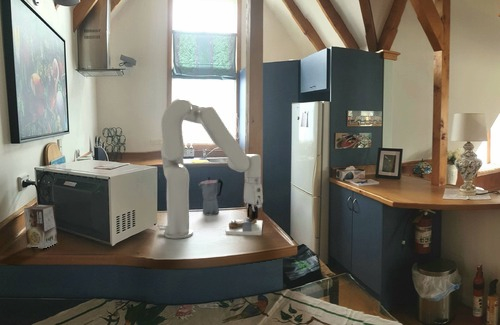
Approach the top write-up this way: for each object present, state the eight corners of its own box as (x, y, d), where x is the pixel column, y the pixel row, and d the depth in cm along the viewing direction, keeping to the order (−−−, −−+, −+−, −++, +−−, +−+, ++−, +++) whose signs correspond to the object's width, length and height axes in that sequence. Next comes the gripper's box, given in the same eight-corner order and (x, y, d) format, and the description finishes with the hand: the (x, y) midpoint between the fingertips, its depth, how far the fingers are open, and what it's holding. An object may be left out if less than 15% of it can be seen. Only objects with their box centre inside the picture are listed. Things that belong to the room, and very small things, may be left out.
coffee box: (58, 243, 141) (55, 205, 139) (45, 249, 135) (43, 209, 133) (39, 241, 143) (36, 204, 141) (26, 247, 136) (23, 207, 134)
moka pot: (194, 213, 189) (194, 177, 186) (217, 208, 199) (216, 174, 197) (204, 216, 182) (204, 179, 179) (227, 211, 192) (227, 176, 190)
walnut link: (232, 228, 155) (232, 212, 155) (226, 226, 159) (226, 210, 158) (257, 223, 164) (257, 207, 163) (251, 220, 168) (252, 206, 167)
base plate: (225, 234, 154) (225, 231, 154) (230, 222, 172) (230, 219, 172) (261, 235, 153) (261, 232, 153) (262, 223, 171) (262, 220, 171)
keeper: (229, 230, 154) (229, 222, 154) (231, 226, 161) (231, 218, 160) (251, 231, 154) (251, 223, 153) (252, 226, 160) (252, 219, 160)
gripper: (269, 182, 158) (269, 220, 160) (249, 177, 171) (249, 213, 174) (256, 183, 154) (256, 223, 156) (236, 178, 167) (236, 215, 169)
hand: (252, 217), depth 165 cm, fingers closed on walnut link, 3 cm apart
